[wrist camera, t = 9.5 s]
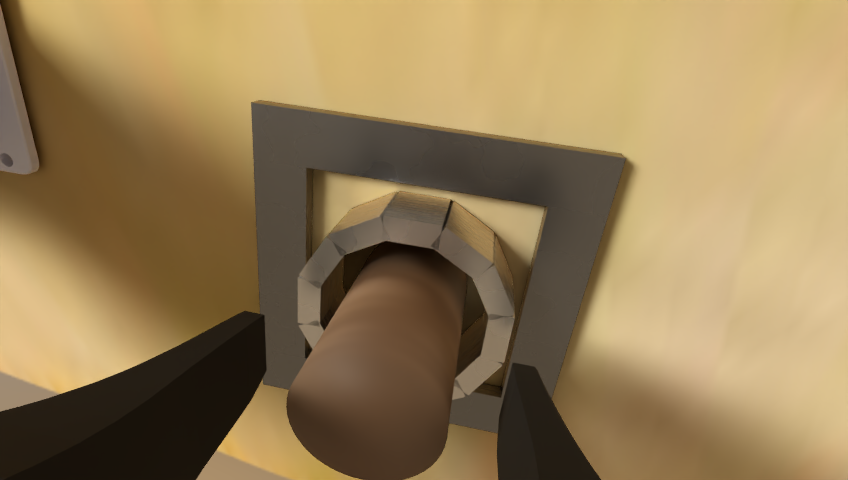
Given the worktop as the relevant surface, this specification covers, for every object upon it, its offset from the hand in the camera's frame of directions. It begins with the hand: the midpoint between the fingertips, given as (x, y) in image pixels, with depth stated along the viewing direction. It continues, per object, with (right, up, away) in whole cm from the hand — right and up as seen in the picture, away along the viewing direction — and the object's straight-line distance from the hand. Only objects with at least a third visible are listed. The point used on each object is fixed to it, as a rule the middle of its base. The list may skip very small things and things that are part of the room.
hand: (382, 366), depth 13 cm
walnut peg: (+1, +2, +4) cm, 5 cm away
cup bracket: (+1, +2, +4) cm, 5 cm away
